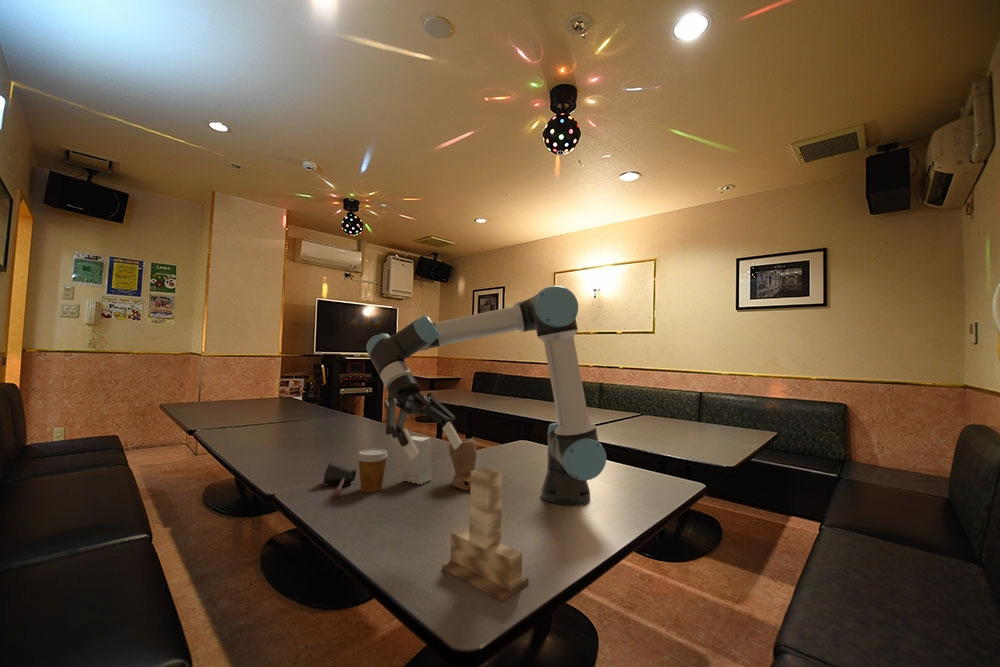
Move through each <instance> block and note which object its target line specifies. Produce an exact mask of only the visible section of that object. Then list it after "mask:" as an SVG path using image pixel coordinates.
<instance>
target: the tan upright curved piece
mask: <svg viewBox="0 0 1000 667" xmlns="http://www.w3.org/2000/svg"><path fill="white" fill-rule="evenodd" d="M461 441H462V443H461V445H460V446H459V447H458V448H457V449H454V448H453V446H452V444H451V443H450V442H449V443H448V450H449V456H450V459H451V462H452V465H453V468H454V471H455V472H454V476H453V480H452V485H453V487H456V488H458V489H460V490H464V491H470V490H471V471H473V470H476V460H477V443H476V441H475V440H474V439H472V438H464V439H461Z"/></svg>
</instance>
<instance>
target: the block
mask: <svg viewBox="0 0 1000 667" xmlns="http://www.w3.org/2000/svg"><path fill="white" fill-rule="evenodd" d="M469 491H470V492H469V493H470V494H469V495H470V496H469V497H470V498H469V500H470V502H469V528H468V530H469V543H471V544H474V545H476V546H478V547H480V548H483V549H485V550H486V549H488V548H490V547H492V546H494V545H496V544H498V543H500V544H501V542H502V538H501V537H502V509H503V508H502V507H503V505H502V504H503V503H502V502H503V501H502V499H503V498H502V497H503V470H500V469H495V468H492V467H488V466H484V467H481V468H478V469H475V470H473V471H471V490H469Z"/></svg>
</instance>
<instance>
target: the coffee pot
mask: <svg viewBox="0 0 1000 667" xmlns="http://www.w3.org/2000/svg"><path fill="white" fill-rule="evenodd" d="M356 476H357V469H352V470H351V469H350V468H347V467H345V466H344V465H341V464H339V463H337V462H335V461H331V462H330V463H328V464H327V467H326V469H325V473H324V476H323V477H324V478H323V485H325V484H335V485H338V486H337V487H336V488H335V490H334V492H333V491H332V492H330V493H329V495H328V497H329V499H334V500H337V499H338V498H339V497H340V495H341V492H342V490H343V489H342V488H343V485H344V484H349V485H350V484H351V482H352V481H354V482H355V479H356ZM331 494H332V497H331ZM336 498H337V499H336Z"/></svg>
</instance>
